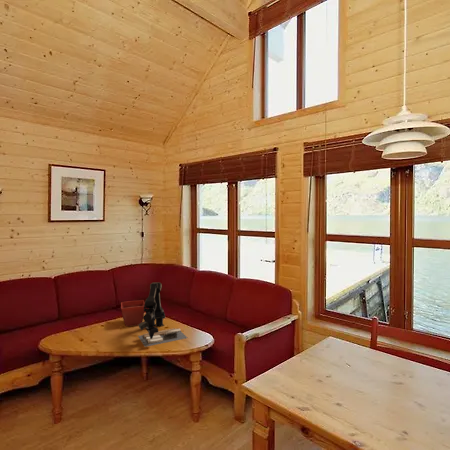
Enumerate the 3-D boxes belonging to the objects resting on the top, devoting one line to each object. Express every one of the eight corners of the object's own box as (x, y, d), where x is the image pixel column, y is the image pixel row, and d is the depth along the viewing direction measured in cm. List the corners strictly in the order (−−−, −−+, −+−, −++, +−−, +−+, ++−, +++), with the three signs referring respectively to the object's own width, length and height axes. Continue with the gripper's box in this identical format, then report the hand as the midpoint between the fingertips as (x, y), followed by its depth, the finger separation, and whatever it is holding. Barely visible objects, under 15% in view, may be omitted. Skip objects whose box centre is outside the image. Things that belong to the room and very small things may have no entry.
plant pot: (121, 320, 281) (121, 301, 280) (144, 318, 287) (143, 299, 286) (121, 328, 263) (121, 308, 262) (145, 325, 269) (145, 305, 268)
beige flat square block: (164, 335, 246) (164, 333, 247) (176, 333, 251) (176, 331, 251) (167, 332, 238) (167, 330, 239) (180, 330, 243) (180, 328, 243)
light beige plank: (146, 339, 240) (145, 337, 240) (159, 336, 244) (159, 334, 244) (149, 343, 231) (149, 341, 231) (163, 341, 235) (163, 339, 235)
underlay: (137, 336, 246) (137, 336, 246) (178, 328, 261) (178, 328, 261) (144, 347, 226) (144, 346, 226) (187, 338, 241) (187, 337, 241)
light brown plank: (143, 336, 246) (143, 334, 246) (174, 330, 257) (174, 328, 257) (145, 338, 240) (144, 336, 240) (177, 332, 252) (177, 330, 252)
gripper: (136, 315, 238) (137, 336, 239) (142, 323, 221) (142, 345, 222) (151, 313, 243) (151, 333, 244) (158, 320, 227) (158, 342, 227)
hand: (151, 338), depth 234 cm, fingers closed
